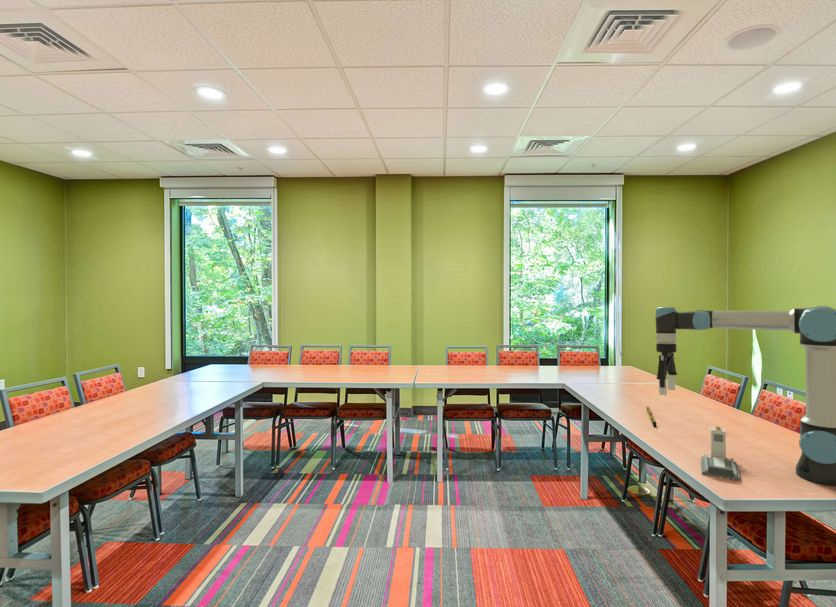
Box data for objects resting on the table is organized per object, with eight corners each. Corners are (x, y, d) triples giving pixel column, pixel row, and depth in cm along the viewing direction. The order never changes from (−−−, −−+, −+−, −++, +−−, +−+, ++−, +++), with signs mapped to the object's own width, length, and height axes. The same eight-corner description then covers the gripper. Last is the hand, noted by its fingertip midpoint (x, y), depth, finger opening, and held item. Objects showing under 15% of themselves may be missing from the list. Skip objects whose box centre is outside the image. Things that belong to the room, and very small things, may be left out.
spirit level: (646, 411, 260) (646, 406, 260) (649, 411, 259) (649, 406, 259) (653, 427, 229) (653, 421, 229) (656, 427, 229) (656, 421, 229)
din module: (724, 456, 186) (724, 425, 186) (725, 460, 182) (725, 429, 182) (710, 454, 189) (710, 424, 189) (711, 458, 184) (711, 427, 184)
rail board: (736, 464, 178) (736, 455, 178) (740, 481, 162) (740, 471, 162) (701, 458, 184) (701, 450, 184) (701, 474, 168) (701, 465, 168)
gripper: (664, 340, 199) (665, 386, 198) (647, 344, 180) (649, 396, 180) (683, 341, 193) (684, 388, 193) (668, 345, 175) (669, 398, 175)
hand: (667, 392), depth 187 cm, fingers open, 13 cm apart
